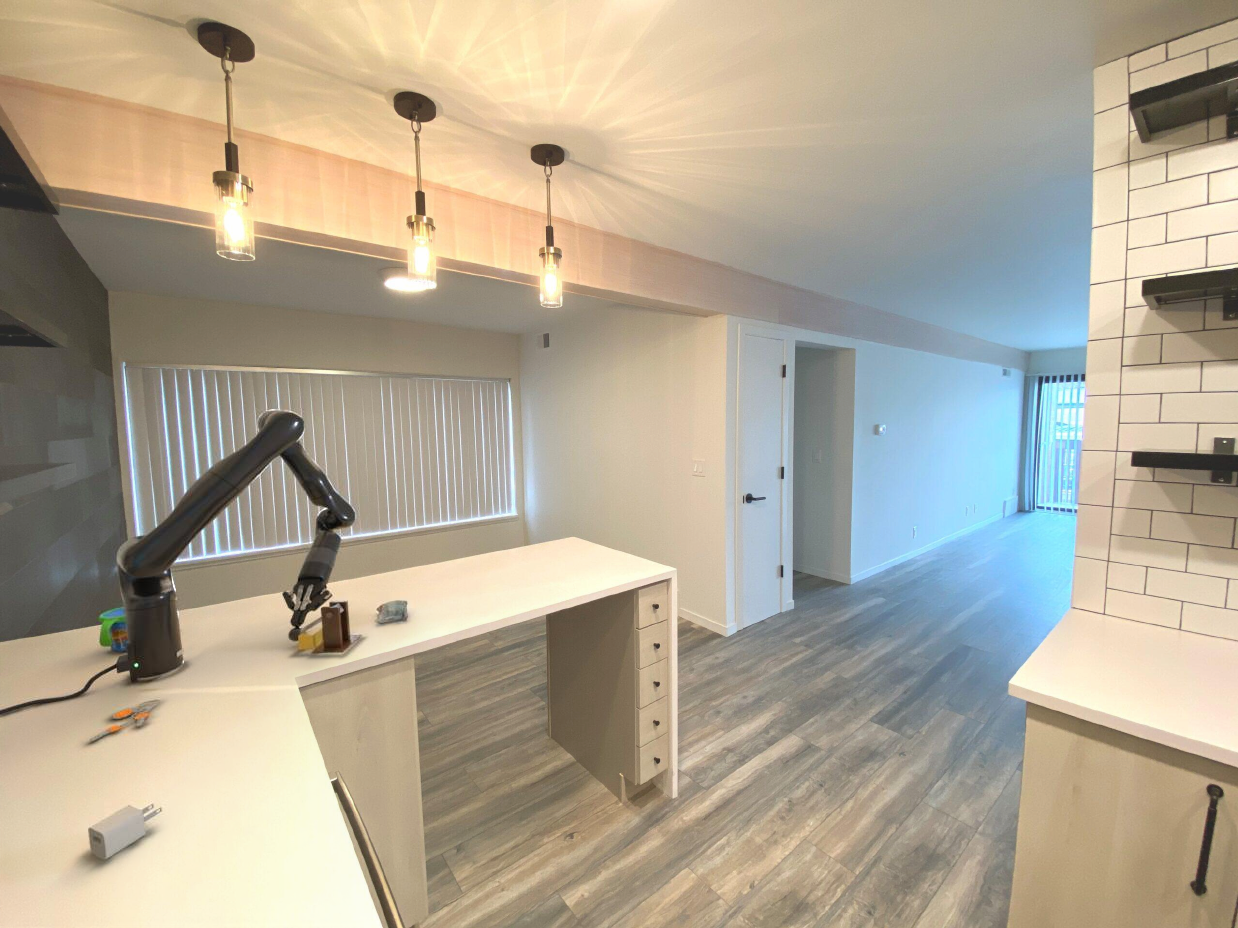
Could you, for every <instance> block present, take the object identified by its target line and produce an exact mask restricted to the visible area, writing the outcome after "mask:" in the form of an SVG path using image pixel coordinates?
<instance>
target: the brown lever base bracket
mask: <svg viewBox="0 0 1238 928" xmlns="http://www.w3.org/2000/svg"><path fill="white" fill-rule="evenodd" d="M338 603H339V604H340V605H341V607H342V608H343V610H344V611H343V612H341V613H340V606H335V605H336V604H338ZM320 617H321V618H322V621H321V627H322V631H323V642H322V643H320V644H319V645H318V646H317V647H315V648H314V649H313V650H312V651H310V654H333V653H344V652H345V651H346V650H348V649H349V648H350V647H351V646H352V645H354V643H355V642H357V641H358V639H360V638H361V637H362V634H351V628H350V627H351V625H350V613H349V600H331V601H329V602H328V606H321V608H320Z"/></svg>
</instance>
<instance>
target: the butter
mask: <svg viewBox="0 0 1238 928" xmlns="http://www.w3.org/2000/svg"><path fill="white" fill-rule="evenodd" d="M298 640H299V641H298V649H299V650H300V651H301V650H315V649H316V648H317V647H319V646H320V645H321V644H322V643H323V631H322V626H320V627H311V628H310V629H308V630H306V631H305V632H303V633H302V634H300V635H299V636H298Z"/></svg>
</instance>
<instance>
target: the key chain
mask: <svg viewBox="0 0 1238 928" xmlns="http://www.w3.org/2000/svg"><path fill="white" fill-rule="evenodd" d="M160 701H161V700H160V699H153V700H148V701H147V700H146V701H144V702H141V703H140V704H138V706H137V707H136V709H134V708H128V709H124V710H120V711H118V712H116V713H115V714H113V715H112V719H113V720H120V719H124V718H127V717H129V716H130V718H131V719H132V720H130V721H127V722H125V723H122V724H120V725H113V726H110V727H108V728H106V729H105V730H104V731H103V732H102V733H99V734H97V735H95V736H94V737H92V738H89V740H88V741H89V742H94V741H95V740H97V739H99V738H101V737H103V736H105V735H107V734H109V733H114V732H116V731H119V730H120V729H121V727H124V726H127V725H129V724H131V723H133V722H135V721H137V722H136V725H135V727H137V728H138V727H141V726H142V725H144V722H145V719H146V718H148V717H149V713H148V711H149V710H151V708H154V707H155V706H156V705H157V704H158V703H159V702H160ZM149 703H153V704H152V705H150V706H149V707H145V708H142V709H139V708H140V707H141V706H142V705H145V704H149ZM138 709H139V710H138Z"/></svg>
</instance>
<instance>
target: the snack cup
mask: <svg viewBox="0 0 1238 928" xmlns="http://www.w3.org/2000/svg"><path fill="white" fill-rule="evenodd" d="M98 621H99V622H100V624H101V626H100V631H99V641H98V642H99V645H100V646H101V647H106V648H107V647H110V650H111V651H113V652H116V653H122V652H127V646H126V644H127V641H128V638H127V630H126V621H125V613H124V606H121V607H116V608H113V609H110V610H107V611H104V612H103V613H101V614H100V615H99V616H98Z"/></svg>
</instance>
